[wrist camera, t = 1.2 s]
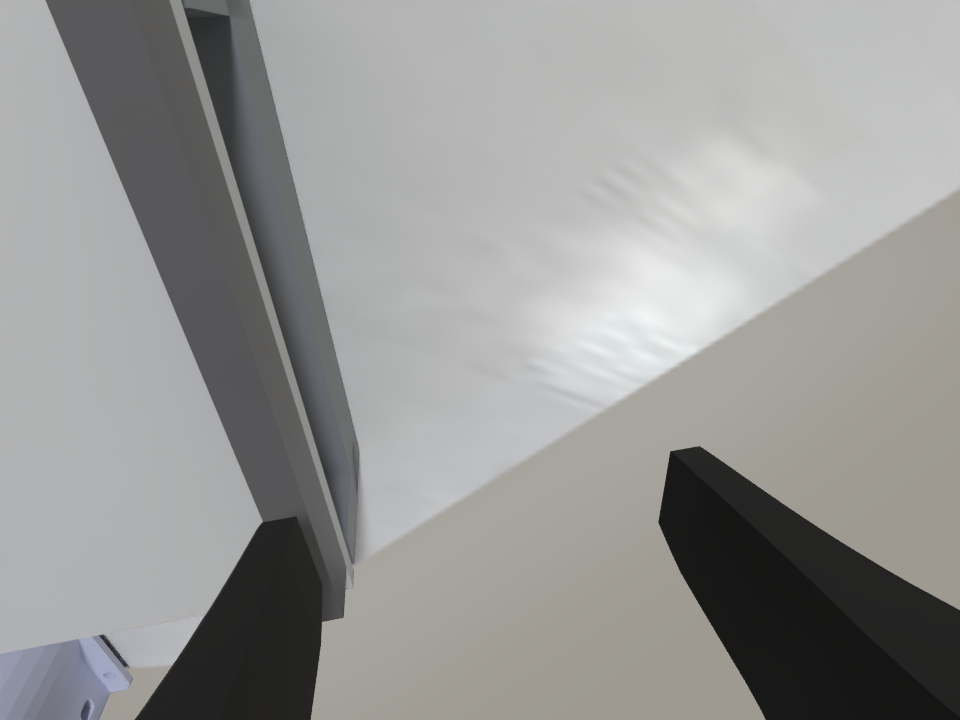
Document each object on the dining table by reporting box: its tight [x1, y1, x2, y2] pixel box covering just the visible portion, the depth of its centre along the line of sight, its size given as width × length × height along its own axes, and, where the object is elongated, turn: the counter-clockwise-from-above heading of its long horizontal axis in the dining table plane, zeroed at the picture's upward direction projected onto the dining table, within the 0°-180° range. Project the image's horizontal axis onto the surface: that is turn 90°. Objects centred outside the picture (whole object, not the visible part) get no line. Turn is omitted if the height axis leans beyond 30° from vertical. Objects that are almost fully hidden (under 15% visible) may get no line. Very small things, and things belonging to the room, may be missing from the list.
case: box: [181, 0, 359, 564], centre depth 14 cm, size 16×11×6 cm
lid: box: [0, 0, 354, 654], centre depth 11 cm, size 16×11×2 cm
